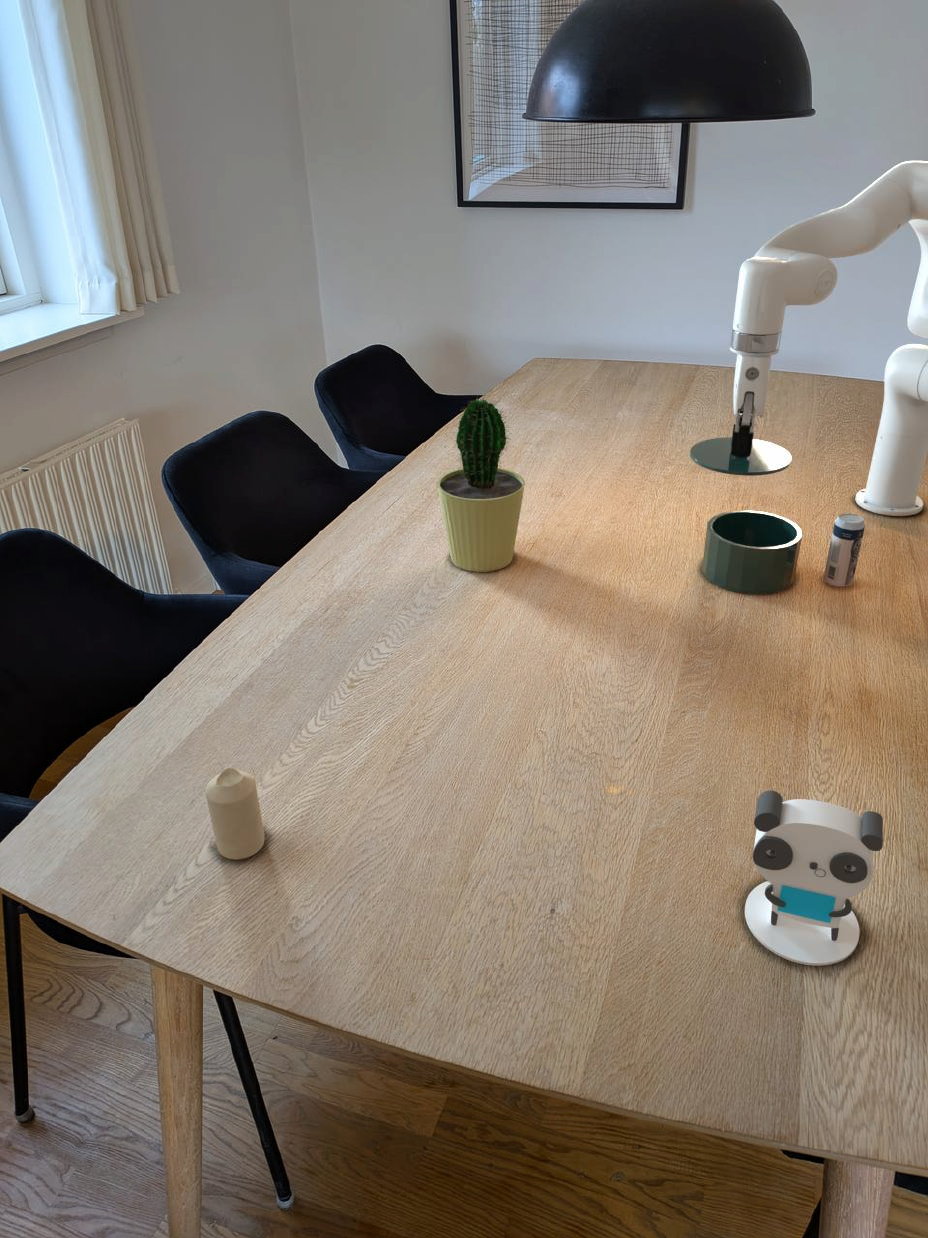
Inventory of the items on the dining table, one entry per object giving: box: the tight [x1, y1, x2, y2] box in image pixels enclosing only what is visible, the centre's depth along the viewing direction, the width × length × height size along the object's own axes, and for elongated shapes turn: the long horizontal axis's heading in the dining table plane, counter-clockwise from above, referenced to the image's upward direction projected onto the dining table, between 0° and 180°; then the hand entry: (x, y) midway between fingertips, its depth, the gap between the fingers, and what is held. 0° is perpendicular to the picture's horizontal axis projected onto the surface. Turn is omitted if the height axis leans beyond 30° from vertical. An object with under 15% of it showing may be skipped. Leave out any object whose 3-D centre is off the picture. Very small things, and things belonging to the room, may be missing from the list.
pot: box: [701, 510, 803, 595], centre depth 163 cm, size 16×16×8 cm
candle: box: [205, 767, 265, 861], centre depth 107 cm, size 6×6×10 cm
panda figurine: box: [744, 790, 884, 967], centre depth 94 cm, size 12×11×15 cm
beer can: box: [823, 512, 866, 588], centre depth 159 cm, size 5×5×12 cm
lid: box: [689, 420, 793, 477], centre depth 158 cm, size 17×17×7 cm
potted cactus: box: [436, 394, 526, 573], centre depth 164 cm, size 15×15×30 cm
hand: (740, 450), depth 158 cm, fingers closed on lid, 2 cm apart
